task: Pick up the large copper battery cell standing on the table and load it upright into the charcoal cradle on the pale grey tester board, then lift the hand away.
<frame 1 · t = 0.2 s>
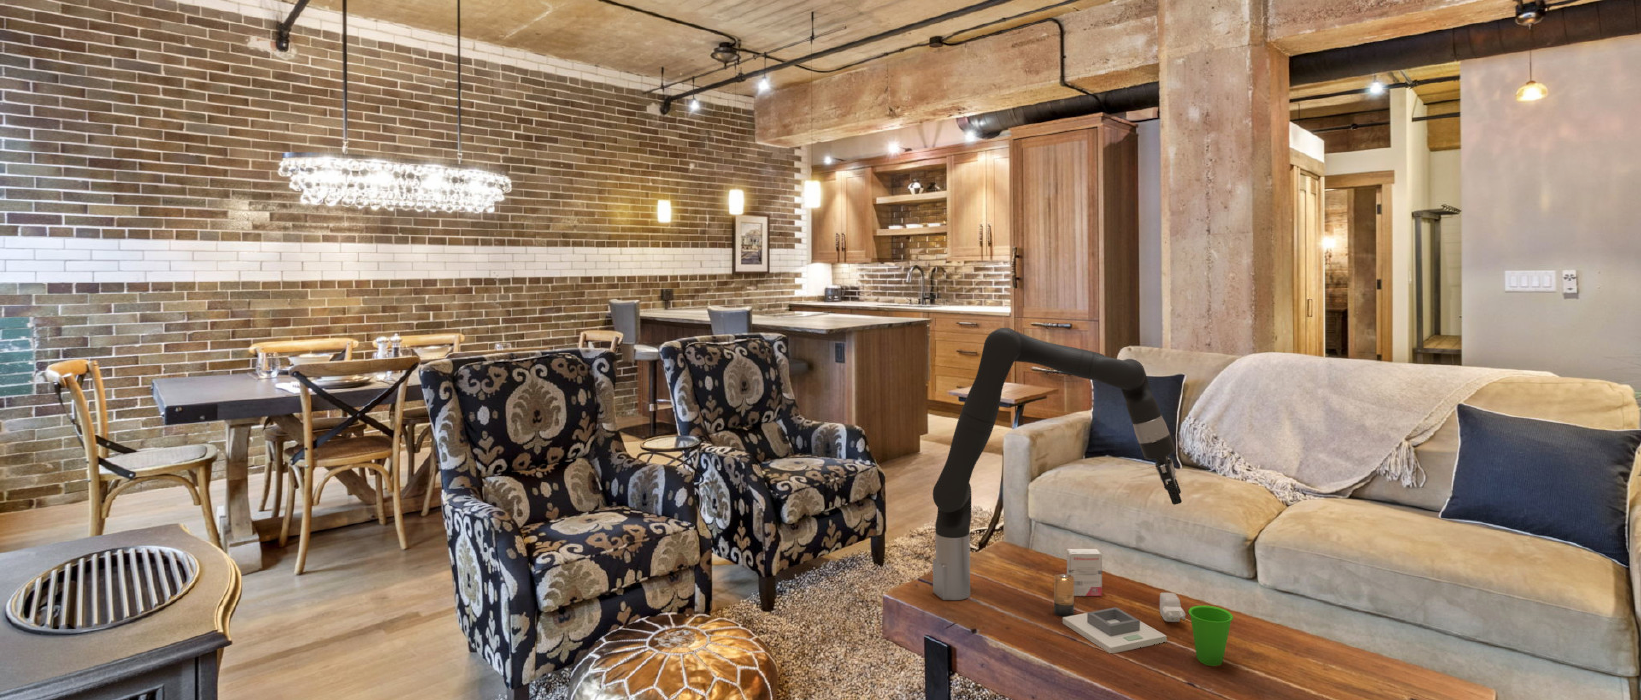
hand: (1177, 498, 204), 31 cm above the table, tool tilted 20°, fingers open, 8 cm apart
cup: (1209, 661, 185), on the table
battery cell: (1063, 613, 212), on the table
ink box: (1084, 593, 225), on the table
tester board: (1113, 632, 200), on the table
power adapter: (1172, 623, 205), on the table
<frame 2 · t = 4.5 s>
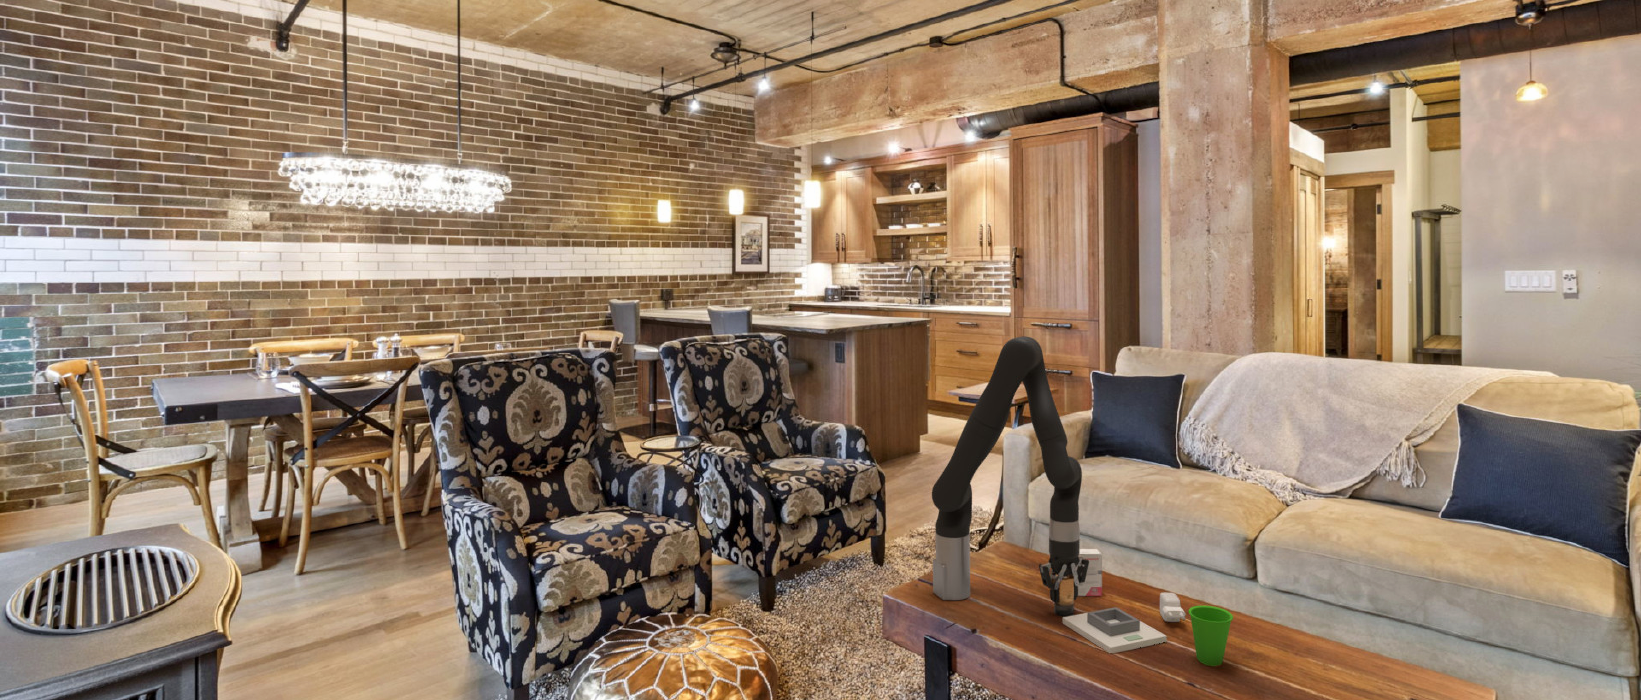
hand: (1063, 600, 212), 3 cm above the table, tool pointing down, fingers closed on battery cell, 4 cm apart
battery cell: (1063, 613, 212), on the table, touching gripper
everything else where it was.
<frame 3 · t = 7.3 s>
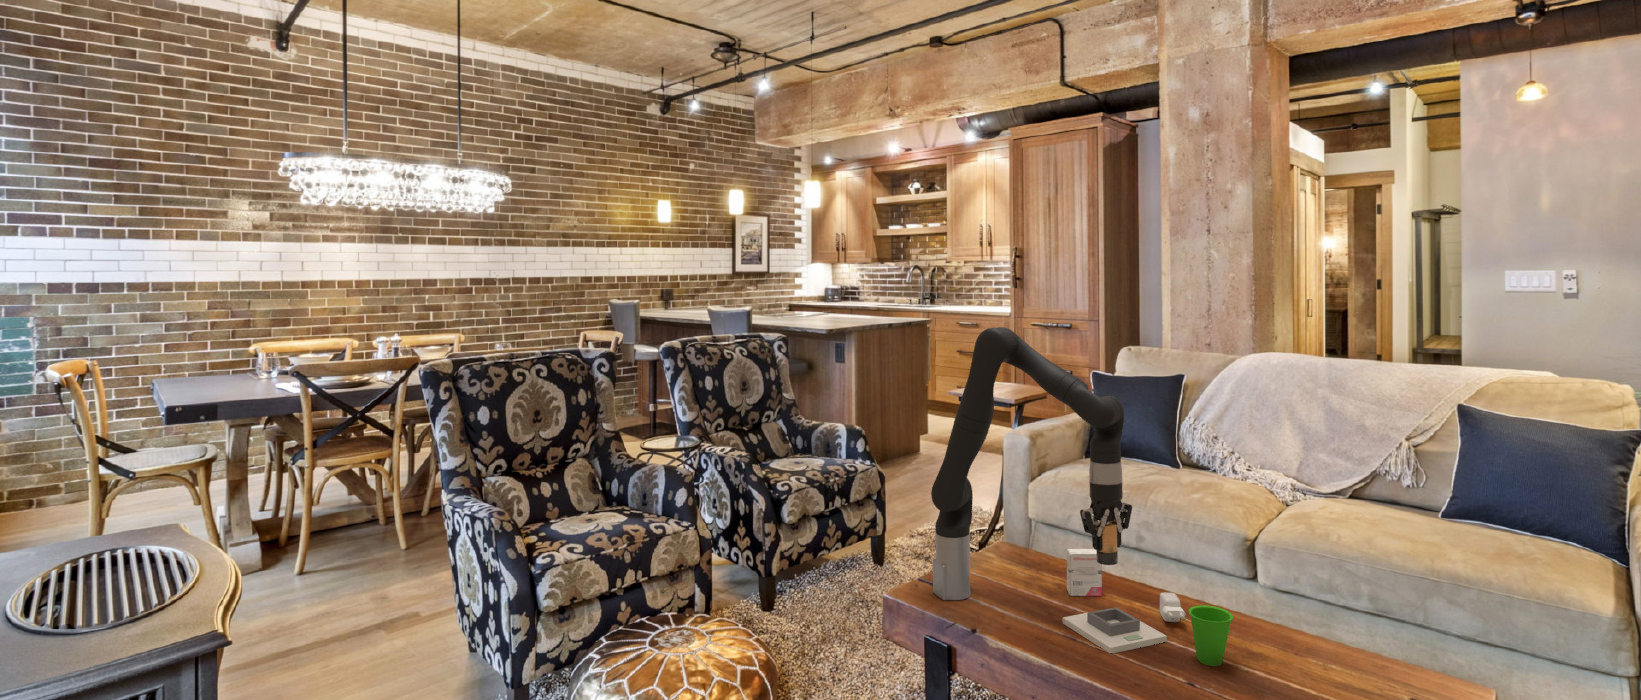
hand: (1106, 548, 201), 20 cm above the table, tool pointing down, fingers closed on battery cell, 4 cm apart
battery cell: (1107, 561, 201), point 17 cm above the table, touching gripper
everything else where it was.
when the fingers open (6 cm above the table, at t = 10.4 s): battery cell drops 1 cm, resting on tester board.
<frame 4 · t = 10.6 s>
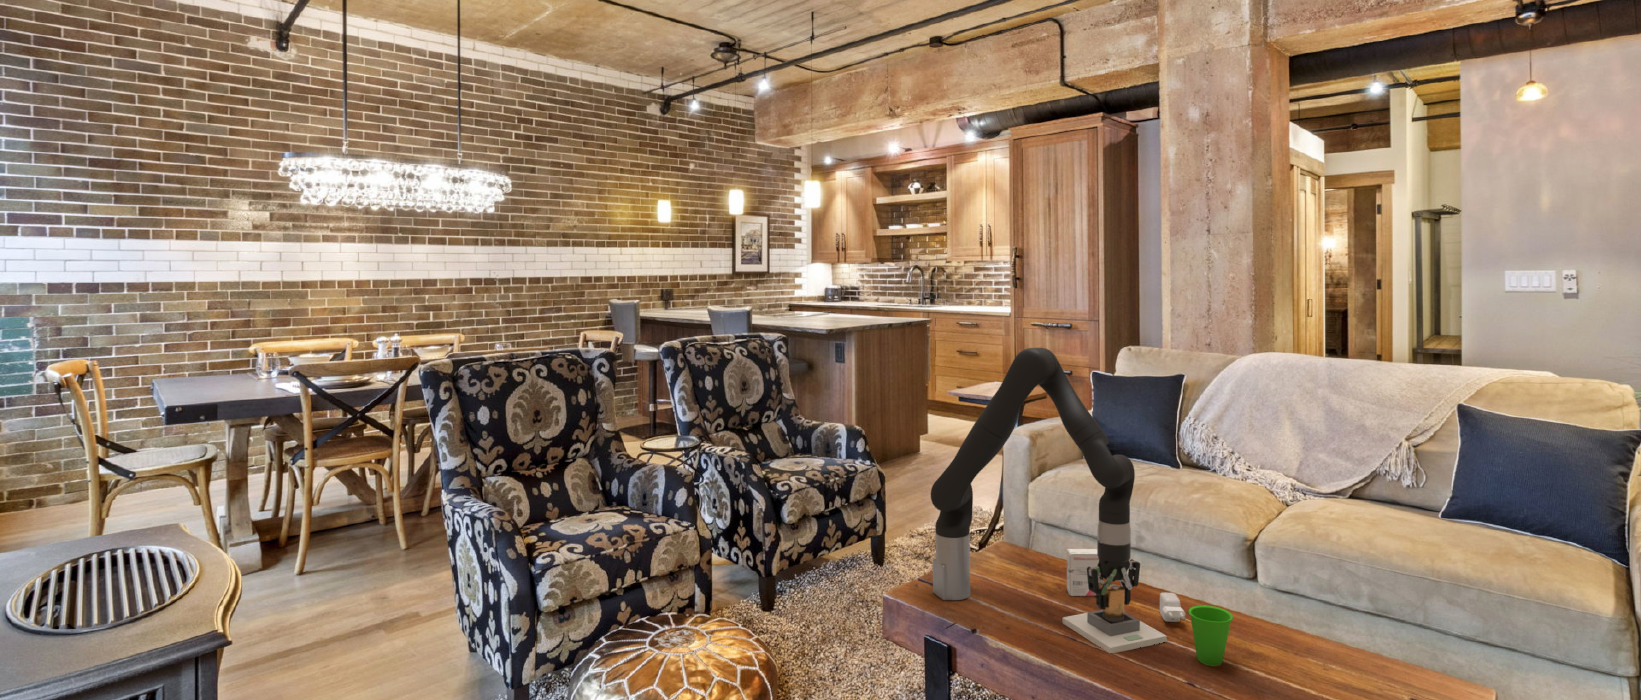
hand: (1113, 605, 200), 7 cm above the table, tool pointing down, fingers open, 6 cm apart
battery cell: (1112, 625, 200), point 2 cm above the table, touching tester board
everything else where it was.
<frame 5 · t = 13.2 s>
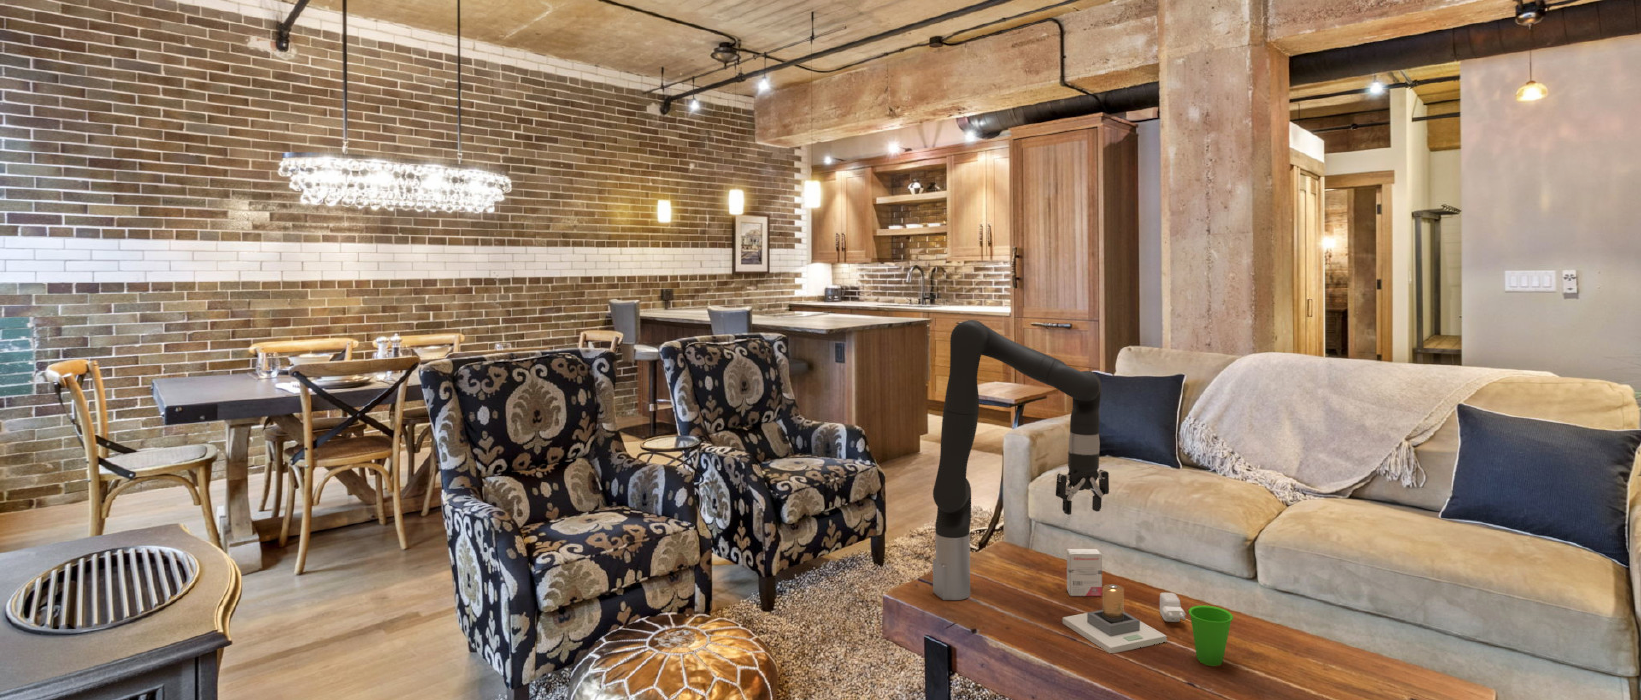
hand: (1081, 512, 212), 26 cm above the table, tool pointing down, fingers open, 8 cm apart
nothing on the table moved.
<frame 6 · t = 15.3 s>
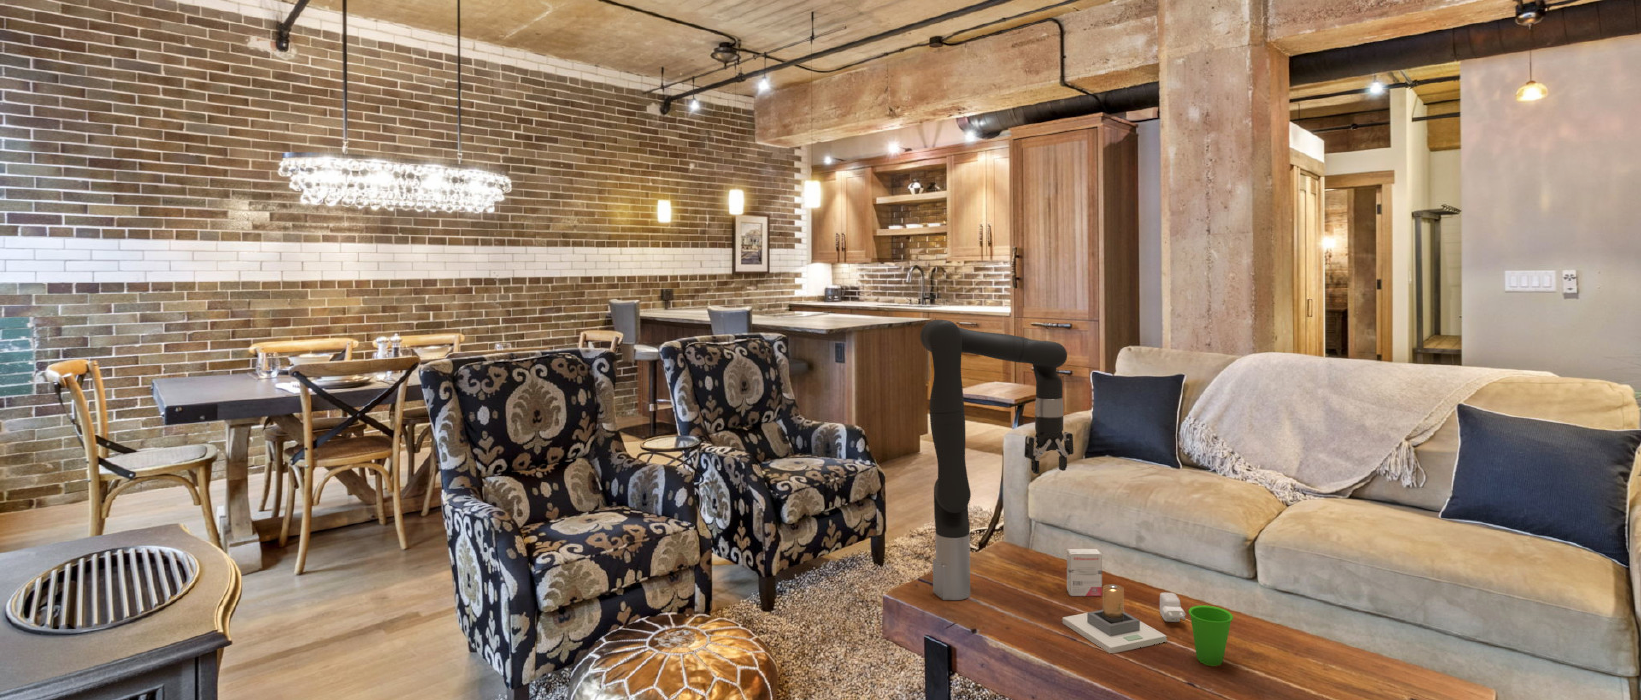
hand: (1049, 471, 229), 32 cm above the table, tool pointing down, fingers open, 8 cm apart
nothing on the table moved.
at the end: battery cell 0.1 cm off-centre on the tester board, point 1.6 cm above the tester board's base; battery cell tilted 0°; the gripper is holding nothing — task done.
